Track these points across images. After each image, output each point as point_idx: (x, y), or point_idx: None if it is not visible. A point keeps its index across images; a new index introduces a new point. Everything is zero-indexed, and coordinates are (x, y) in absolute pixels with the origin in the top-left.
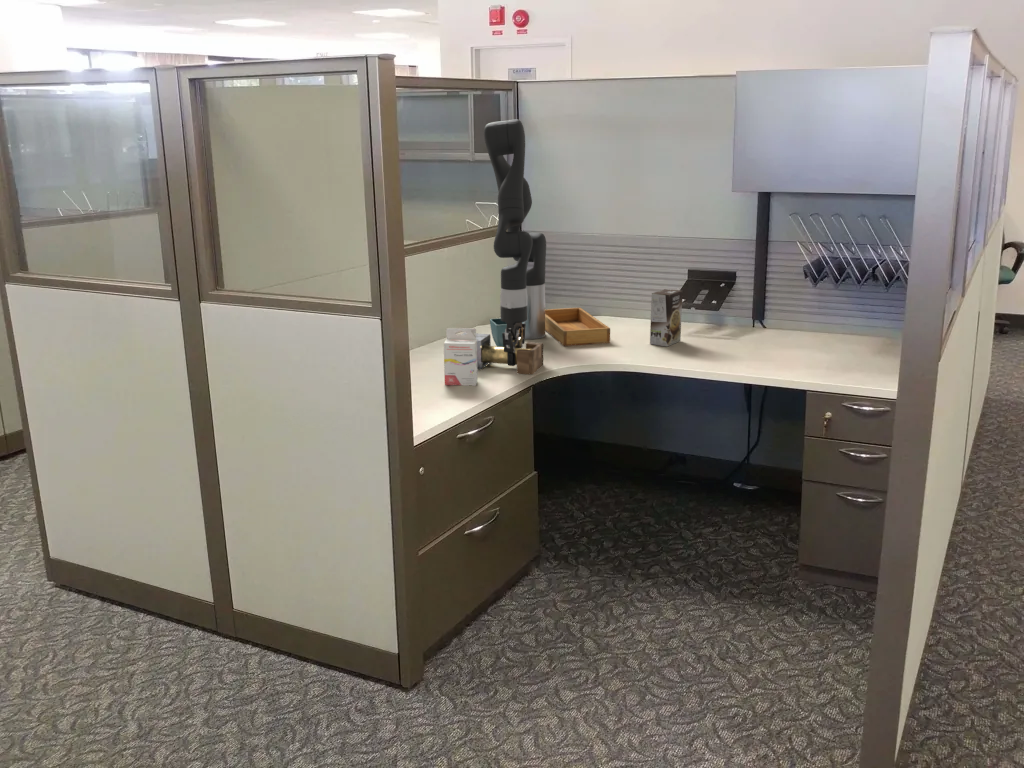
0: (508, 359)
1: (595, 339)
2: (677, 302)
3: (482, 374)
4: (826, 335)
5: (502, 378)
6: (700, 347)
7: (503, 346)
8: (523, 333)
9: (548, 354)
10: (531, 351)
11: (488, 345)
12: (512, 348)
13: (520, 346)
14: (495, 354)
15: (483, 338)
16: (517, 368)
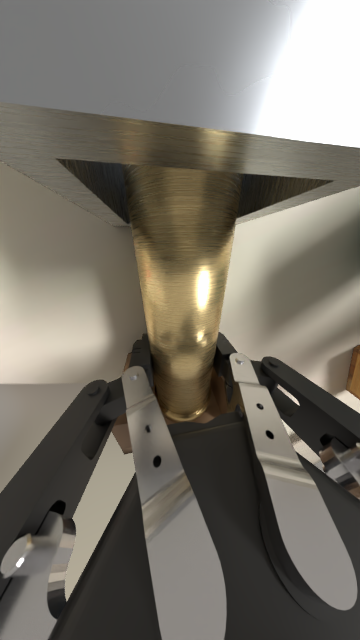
0: (132, 353)
1: (357, 385)
2: None
3: (53, 260)
4: (311, 462)
5: (60, 341)
6: (297, 442)
7: (56, 422)
8: (296, 433)
9: (300, 346)
10: (130, 450)
11: (270, 196)
12: (97, 430)
13: (224, 382)
14: (143, 299)
15: (150, 102)
16: (125, 365)
